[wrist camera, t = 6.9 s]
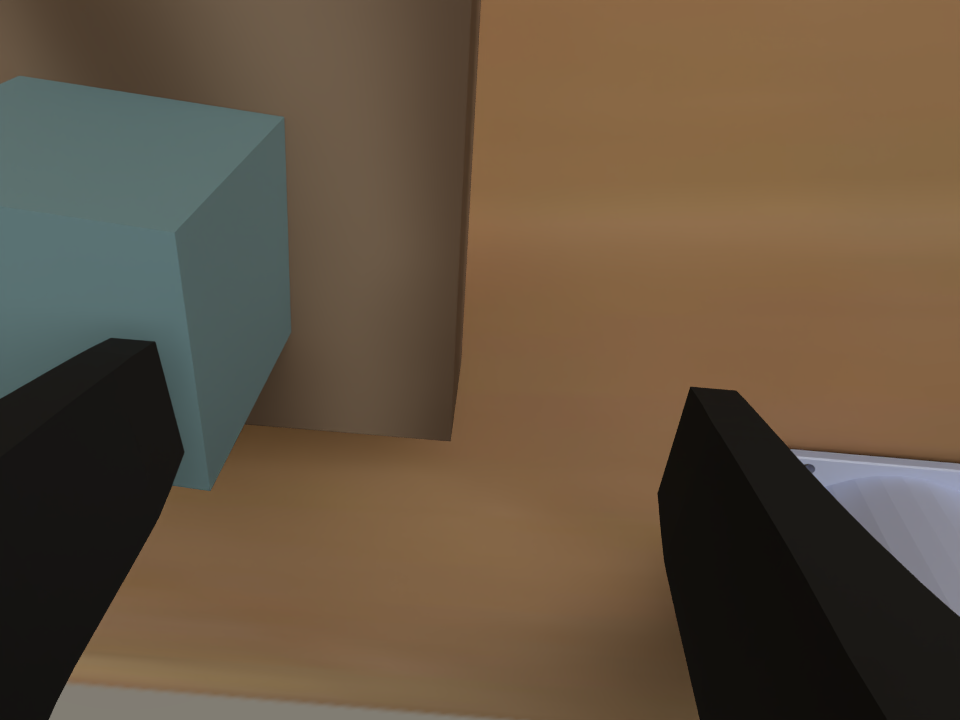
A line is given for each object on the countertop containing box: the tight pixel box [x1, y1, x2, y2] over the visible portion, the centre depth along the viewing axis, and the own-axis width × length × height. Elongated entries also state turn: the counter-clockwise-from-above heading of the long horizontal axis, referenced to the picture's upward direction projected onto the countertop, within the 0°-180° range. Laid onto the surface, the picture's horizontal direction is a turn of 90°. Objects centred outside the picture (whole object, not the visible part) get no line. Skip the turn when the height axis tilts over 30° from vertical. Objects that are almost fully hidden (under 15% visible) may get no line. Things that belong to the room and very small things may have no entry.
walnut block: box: [0, 0, 481, 441], centre depth 16 cm, size 12×12×4 cm
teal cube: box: [0, 76, 291, 491], centre depth 13 cm, size 5×5×5 cm
